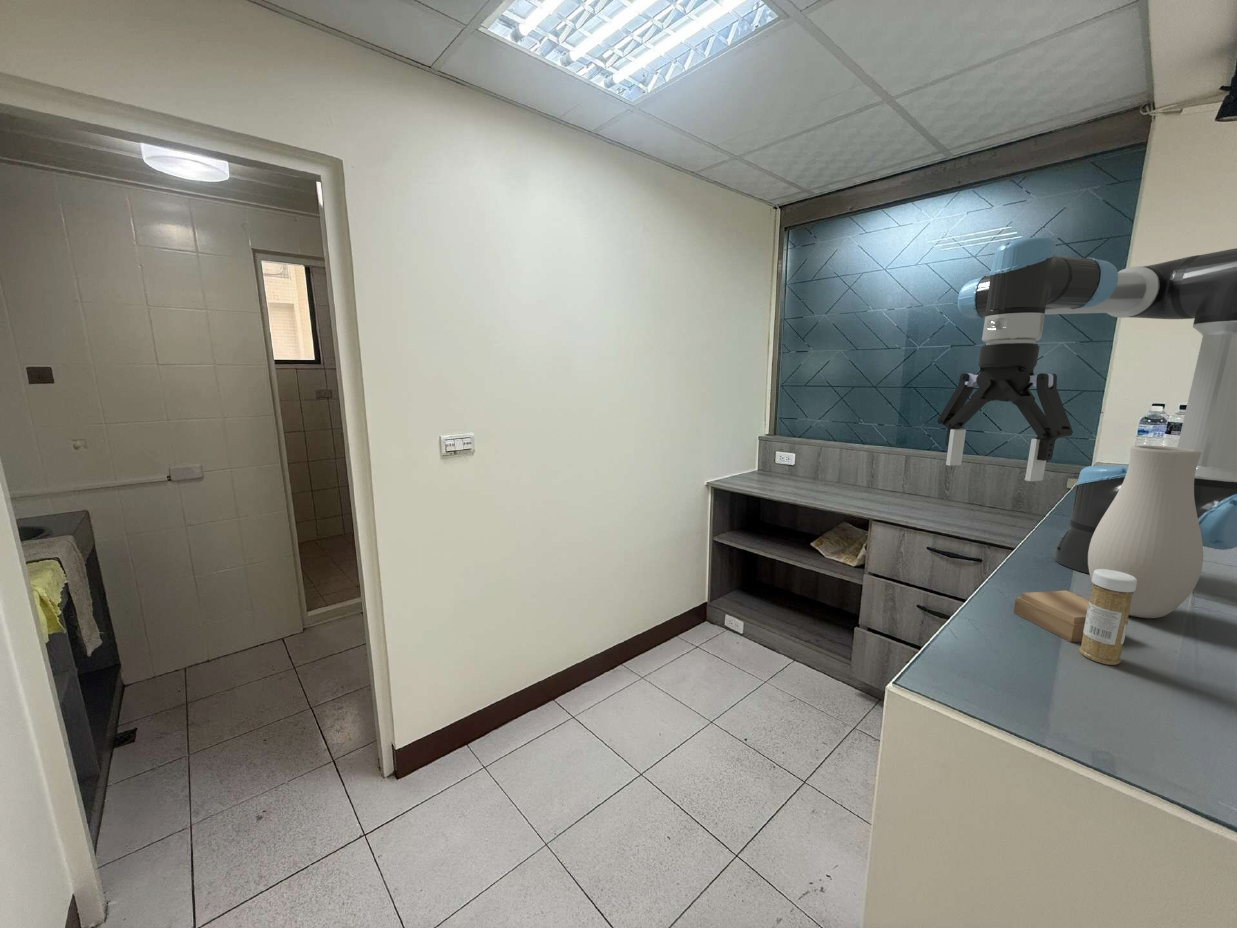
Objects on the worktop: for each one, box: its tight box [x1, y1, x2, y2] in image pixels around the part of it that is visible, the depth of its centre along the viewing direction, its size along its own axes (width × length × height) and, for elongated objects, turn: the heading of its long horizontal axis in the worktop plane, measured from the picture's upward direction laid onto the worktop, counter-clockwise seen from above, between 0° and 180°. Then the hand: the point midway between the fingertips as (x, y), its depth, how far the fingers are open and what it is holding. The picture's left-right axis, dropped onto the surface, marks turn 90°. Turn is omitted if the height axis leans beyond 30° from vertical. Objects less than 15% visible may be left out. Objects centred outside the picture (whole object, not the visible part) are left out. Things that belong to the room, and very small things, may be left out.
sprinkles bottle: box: [1078, 569, 1137, 666], centre depth 73 cm, size 5×5×13 cm
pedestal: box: [1013, 590, 1129, 643], centre depth 83 cm, size 10×10×4 cm
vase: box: [1088, 444, 1204, 619], centre depth 86 cm, size 14×14×30 cm
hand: (990, 472), depth 82 cm, fingers open, 13 cm apart
